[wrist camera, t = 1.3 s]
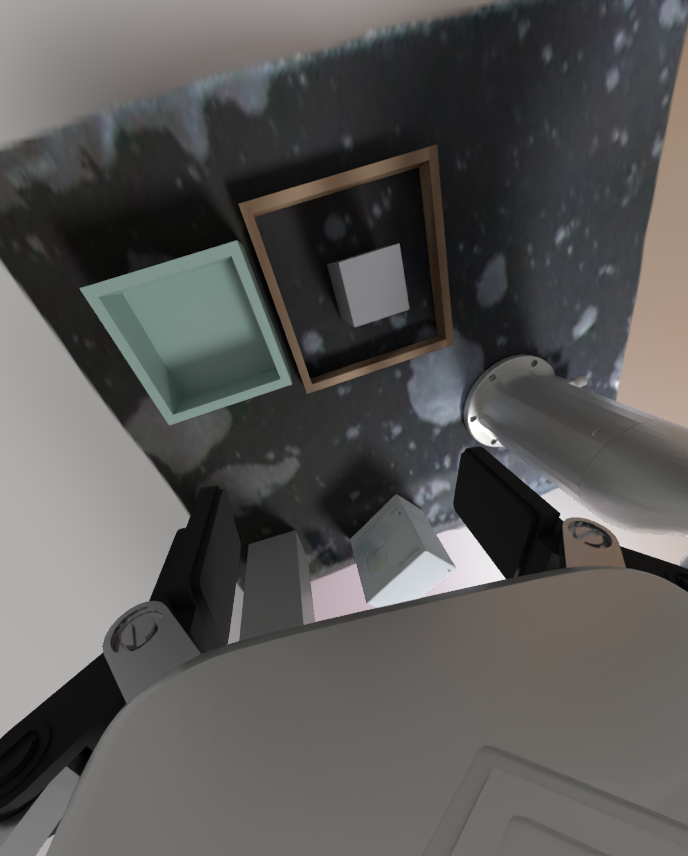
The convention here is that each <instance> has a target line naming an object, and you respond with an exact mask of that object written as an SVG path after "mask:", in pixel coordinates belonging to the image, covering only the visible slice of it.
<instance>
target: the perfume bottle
mask: <svg viewBox="0 0 688 856" xmlns="http://www.w3.org/2000/svg"><path fill="white" fill-rule="evenodd" d="M314 622H315V618H314V610H313V600H312V592H311V583H310V574H309V566H308V559H307V557H306V554H305V552H304V549H303V547H302V544H301V542H300V539H299V537H298V534H297V532H296V530H294V531H291V532H288V533H284V534H281V535H278V536H275V537H271V538H268V539H265V540H261V541H258V542H255V543H252V544H249V546H248V556H247V567H246V577H245V587H244V598H243V608H242V620H241V629H240V639H239V641H242V640H245V639H248V638H252V637H256V636H260V635H264V634H268V633H272V632H276V631H281V630H285V629H289V628H293V627H297V626H301V625H305V624H310V623H314Z"/></svg>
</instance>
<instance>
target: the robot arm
mask: <svg viewBox="0 0 688 856" xmlns="http://www.w3.org/2000/svg"><path fill="white" fill-rule="evenodd" d="M586 384H587V378H586V377H585V376H583V375H580V376H577V377H574V378H571V379H570V380H567V379H564V378H561V377H558V376H556V375H555V372H554V370H553V369H552V367H551V366H550V365H549V364H548V363H547V362H546V361H545V360H543V359H541V358H539V357H535V356H532V355H525V354H520V355H513V356H510V357H507V358H504V359H502V360H501V361H499V362H497V363H495V364H494V365H492V366H491V367H490V368H488V369H487V370H486V371H485V372H484V373H483V374H482V375H481V376H480V377H479V378H478V380H477V381H476V382H475V384H474V385H473V387H472V388H471V390H470V392H469V394H468V397H467V400H466V402H465V407H464V422H465V426H466V429H467V430H468V432H469V434H470V435H471V436H472V437H473V438H474V439H475V440H477V441H478V442H479V443H481V444H483V445H486V446H490V447H501V446H504V447H506V448H507V449H508V450H510V451H511V452H512V453H514V454H515V455H516V456H517V457H519V458H520V459H521V460H523V461H524V462H525V463H527V464H528V465H529V466H531V467H532V468H533V469H535V470H536V471H537V472H539V473H540V474H541V475H543V476H544V477H545V478H547V479H548V480H549V481H551V482H552V483H553V484H555V485H556V486H557V487H559V488H560V489H561V490H563V491H564V492H565V493H567V494H568V495H569V496H570V497H572V498H573V499H574V500H576V501H577V502H578V503H580V504H581V505H582V506H584V507H585V508H587V509H588V510H589V511H591V512H592V513H593V514H595V515H596V516H597V517H599V518H601V519H602V520H604V521H605V522H607V523H609V524H611V525H613V526H616V527H618V528H621V529H624V530H628V531H633V532H638V533H646V534H658V535H677V536H684V537H686V538H688V428H686V427H683V426H681V425H678V424H676V423H673V422H670V421H667V420H664V419H661V418H659V417H656V416H654V415H651V414H648V413H646V412H643V411H640V410H638V409H635V408H632V407H630V406H627V405H624V404H622V403H619V402H617V401H614V400H611V399H609V398H606V397H603V396H601V395H598V394H595V393H594V392H593V391H592V390H591V389H589V388H585V389H582V388H579V387H582V386H585V385H586ZM453 505H454V509H455V511H456V513H457V514H458V515H459V517H460V518H461V519H462V521H463V522H464V523H465V525H466V526H467V527H468V529H469V530H470V531H471V533H472V534H473V535H474V537H475V538H476V539H477V541H478V542H479V543H480V545H481V546H482V547H483V549H484V550H485V551H486V553H487V554H488V555H489V557H490V558H491V559H492V561H493V562H494V564H495V565H496V566H497V568H498V569H499V570H500V572H501V573H502V574H503V576H504V577H505V578H506V579H505V580H501V581H497V582H492V583H487V584H483V585H478V586H473V587H469V588H464V589H460V590H455V591H451V592H447V593H442V594H437V595H433V596H428V597H424V598H419V599H415V600H410V601H406V602H401V603H397V604H392V605H388V606H384V607H379V608H375V609H371V610H366V611H362V612H357V613H353V614H349V615H344V616H340V617H336V618H332V619H327V620H323V621H318V622H314V623H310V624H305V625H301V626H297V627H293V628H289V629H285V630H281V631H276V632H272V633H268V634H264V635H260V636H256V637H252V638H248V639H245V640H242V641H238V642H235V643H232V644H228V645H227V643H228V638H229V632H230V624H231V617H232V610H233V603H234V595H235V588H236V581H237V574H238V567H239V559H240V552H241V543H240V539H239V535H238V532H237V528H236V525H235V521H234V518H233V515H232V511H231V508H230V504H229V501H228V497H227V494H226V491H225V489H220V488H219V486H212V487H205V488H201V489H200V491H199V494H198V497H197V500H196V502H195V505H194V508H193V511H192V513H191V516H190V519H189V521H188V524H187V527H186V528H183V529H179V530H178V531H177V533H176V535H175V538H174V540H173V543H172V545H171V548H170V550H169V553H168V555H167V558H166V560H165V563H164V565H163V568H162V570H161V573H160V575H159V578H158V580H157V583H156V586H155V588H154V590H153V593H152V595H151V598H150V600H149V602H144V603H141V604H139V605H136V606H135V607H133V608H131V609H130V610H128V611H126V612H125V613H124V614H123V615H122V616H120V617H119V618H118V619H117V620H116V621H115V623H114V624H113V625H112V626H111V627H110V629H109V631H108V632H107V634H106V636H105V639H104V643H103V653H102V654H101V655H100V656H98V657H97V658H96V659H95V660H94V661H92V662H91V663H90V664H89V665H88V666H86V667H85V668H84V669H83V670H82V671H80V672H79V673H78V674H77V675H76V676H74V677H73V678H72V679H71V680H70V681H68V682H67V683H66V684H65V685H64V686H62V687H61V688H60V689H59V690H58V691H56V692H55V693H54V694H53V695H52V696H51V697H49V698H48V699H47V700H46V701H45V702H43V703H42V704H41V705H40V706H38V707H37V708H36V709H35V710H34V711H32V712H31V713H30V714H29V715H28V716H26V718H24V719H23V720H22V721H20V722H19V723H18V724H17V725H15V726H14V727H13V728H12V729H11V730H9V731H8V732H7V733H6V734H5V735H4V736H3V737H2V738H1V739H0V856H35V855H36V854H37V852H38V851H39V850H40V848H41V847H42V845H43V844H44V842H45V841H46V840H47V838H49V837H51V836H52V835H54V834H55V835H54V837H53V840H52V842H51V845H50V847H49V849H48V852H47V854H46V856H688V553H687V554H686V556H685V557H684V558H683V559H682V560H681V562H680V564H679V565H675V564H672V563H669V562H666V561H663V560H660V559H657V558H654V557H651V556H648V555H645V554H642V553H639V552H636V551H633V550H630V549H627V548H624V547H621V546H620V545H619V542H618V540H617V538H616V537H615V535H614V534H613V533H611V531H609V530H608V529H607V528H605V527H604V526H602V525H600V524H598V523H596V522H594V521H591V520H588V519H583V518H569V519H566V520H565V521H562V520H561V519H560V518H559V516H560V513H559V512H558V511H557V510H556V509H554V508H553V507H552V506H551V505H550V504H549V503H547V502H546V501H545V500H544V499H543V498H542V497H540V496H539V495H538V494H537V493H536V492H534V491H533V490H532V489H531V488H530V487H529V486H527V485H526V484H525V483H524V482H523V481H522V480H520V479H519V478H518V477H517V476H516V475H514V474H513V473H512V472H511V471H510V470H509V469H507V468H506V467H505V466H504V465H503V464H502V463H500V462H499V461H498V460H497V459H496V458H494V457H493V456H492V455H491V454H490V453H489V452H487V451H486V450H485V449H484V448H482V447H472V448H467V449H465V451H464V452H463V453H462V454H461V458H460V465H459V471H458V477H457V483H456V489H455V496H454V502H453Z"/></svg>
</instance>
